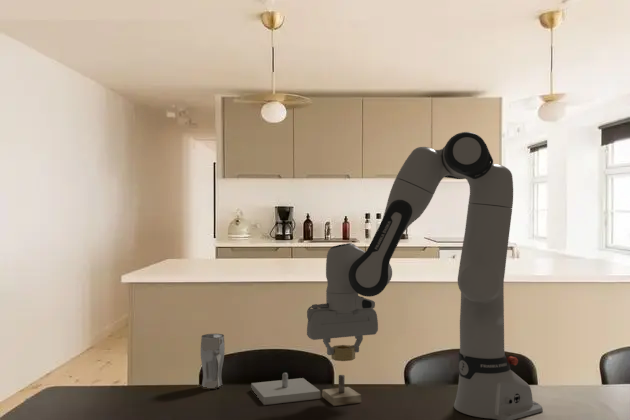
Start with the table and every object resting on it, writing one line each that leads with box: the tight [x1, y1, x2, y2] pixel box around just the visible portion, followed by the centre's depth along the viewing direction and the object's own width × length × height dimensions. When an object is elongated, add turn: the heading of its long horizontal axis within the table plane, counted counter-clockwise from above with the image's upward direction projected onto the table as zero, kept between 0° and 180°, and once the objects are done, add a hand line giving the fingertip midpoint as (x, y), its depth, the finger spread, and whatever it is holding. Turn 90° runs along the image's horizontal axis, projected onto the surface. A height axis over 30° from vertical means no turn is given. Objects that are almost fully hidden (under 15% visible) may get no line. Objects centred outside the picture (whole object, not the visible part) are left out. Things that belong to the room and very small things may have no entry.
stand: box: [321, 374, 362, 407], centre depth 142 cm, size 8×8×6 cm
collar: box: [330, 344, 356, 362], centre depth 142 cm, size 6×6×3 cm
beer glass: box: [200, 333, 226, 388], centre depth 153 cm, size 7×7×15 cm
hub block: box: [250, 372, 321, 406], centre depth 146 cm, size 16×14×6 cm
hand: (343, 353), depth 142 cm, fingers closed on collar, 6 cm apart
